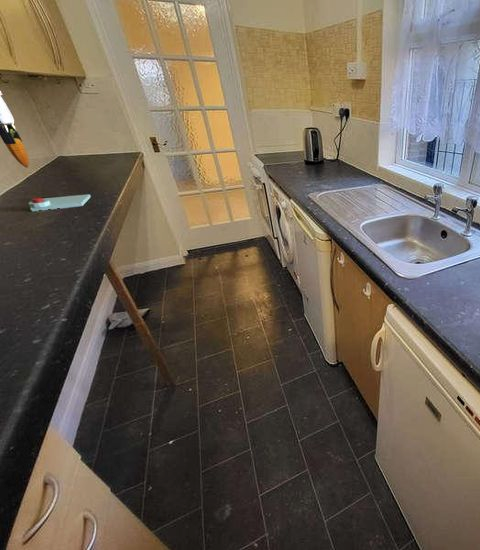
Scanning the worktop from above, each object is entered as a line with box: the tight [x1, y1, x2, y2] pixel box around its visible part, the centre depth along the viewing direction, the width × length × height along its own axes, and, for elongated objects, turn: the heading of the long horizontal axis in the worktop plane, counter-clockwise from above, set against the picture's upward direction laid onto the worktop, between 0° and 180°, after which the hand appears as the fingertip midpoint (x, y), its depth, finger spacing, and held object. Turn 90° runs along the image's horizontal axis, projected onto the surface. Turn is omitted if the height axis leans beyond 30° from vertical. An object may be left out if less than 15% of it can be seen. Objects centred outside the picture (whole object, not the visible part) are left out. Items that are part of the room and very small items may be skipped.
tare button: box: [31, 197, 44, 203], centre depth 119 cm, size 3×3×2 cm
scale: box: [27, 194, 92, 212], centre depth 125 cm, size 16×14×3 cm
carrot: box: [5, 129, 30, 169], centre depth 121 cm, size 5×5×15 cm
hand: (13, 142), depth 119 cm, fingers closed on carrot, 4 cm apart
